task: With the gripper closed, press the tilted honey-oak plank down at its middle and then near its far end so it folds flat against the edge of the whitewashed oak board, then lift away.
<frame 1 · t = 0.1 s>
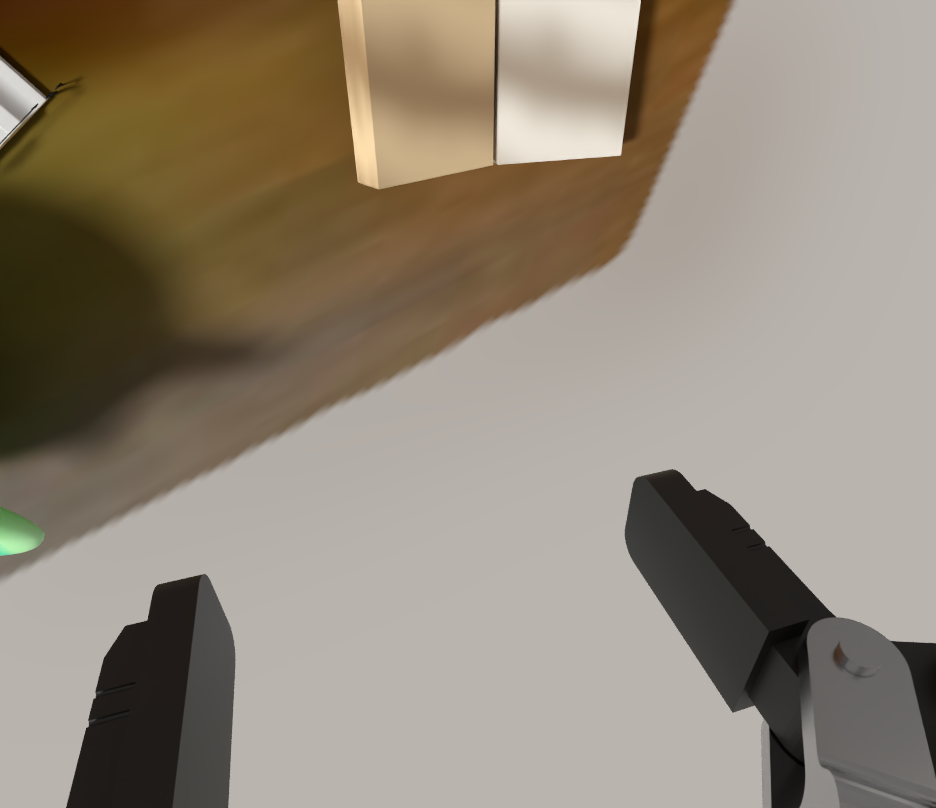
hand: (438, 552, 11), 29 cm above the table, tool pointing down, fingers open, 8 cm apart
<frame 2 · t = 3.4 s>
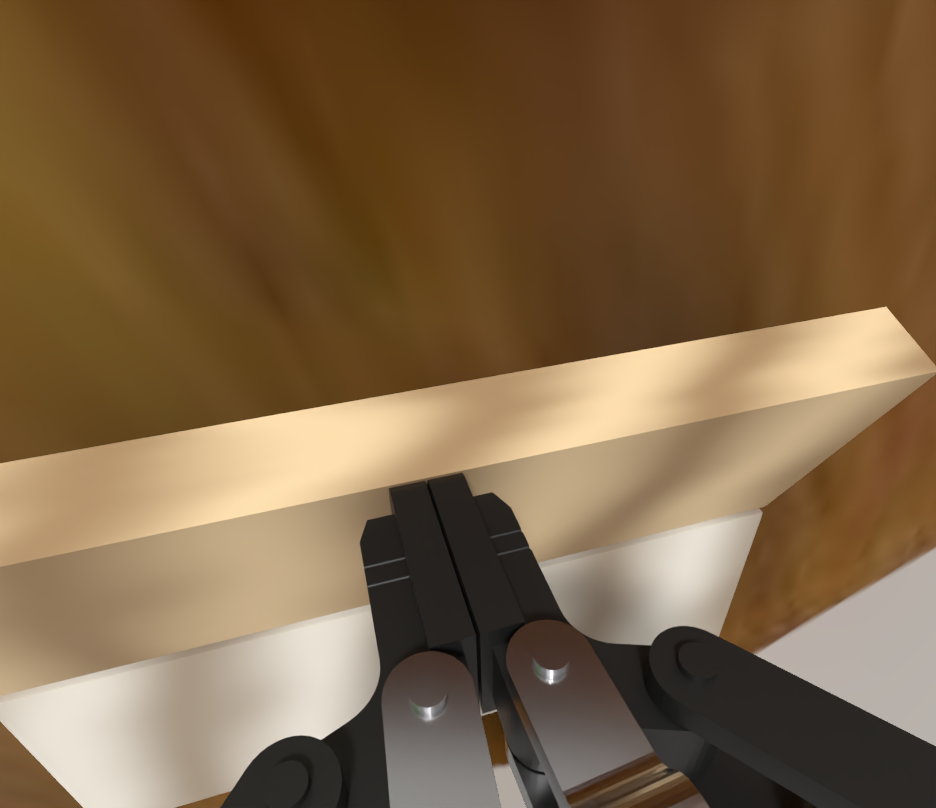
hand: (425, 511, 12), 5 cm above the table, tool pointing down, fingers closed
whitewashed oak board: (423, 621, 22), on the table
honey oak plank: (419, 509, 15), point 3 cm above the table, hinge at 23.4°, touching gripper
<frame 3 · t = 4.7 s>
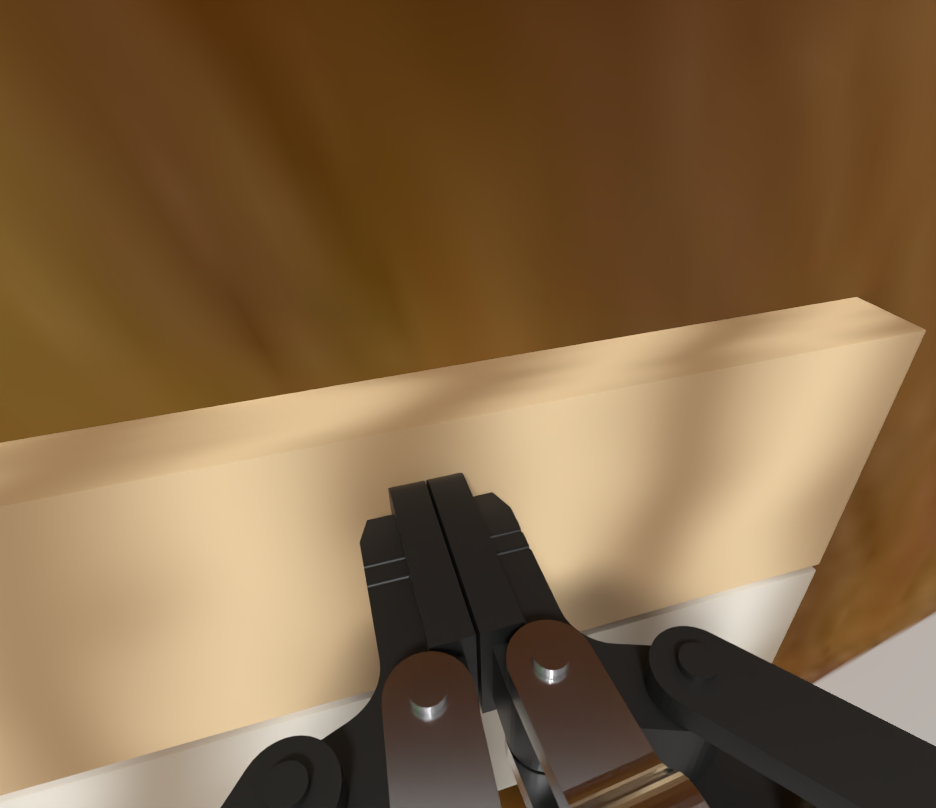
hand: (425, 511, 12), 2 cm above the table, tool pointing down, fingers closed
whitewashed oak board: (432, 689, 19), on the table
honey oak plank: (419, 538, 14), point 1 cm above the table, hinge at -0.6°
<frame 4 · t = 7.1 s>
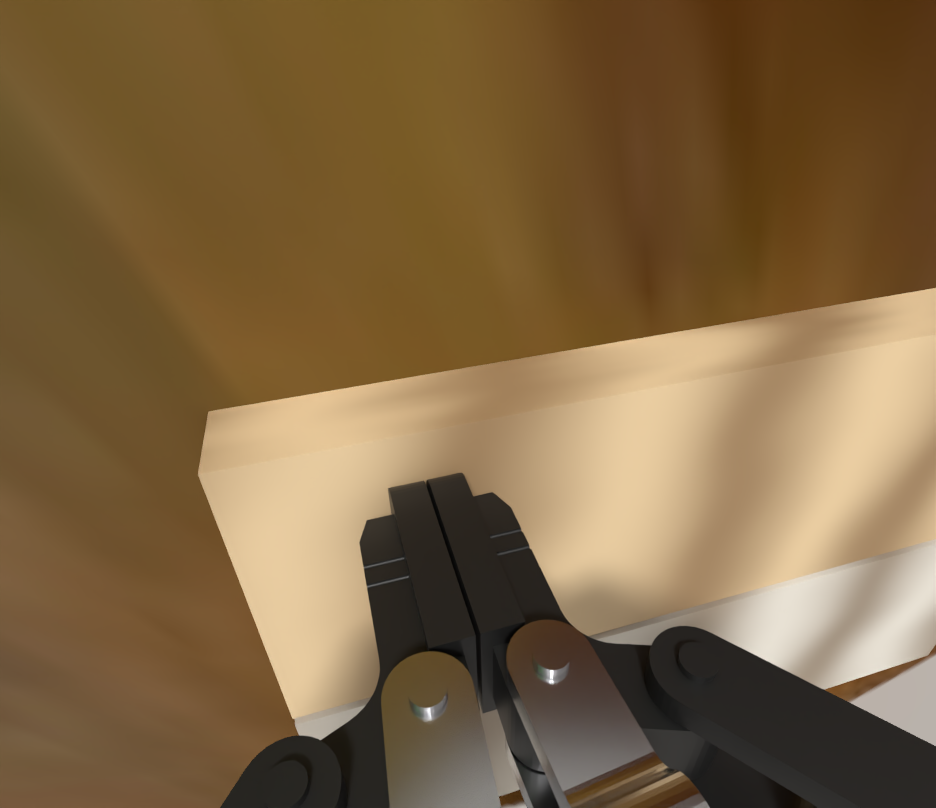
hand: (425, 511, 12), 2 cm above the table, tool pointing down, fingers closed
whitewashed oak board: (656, 630, 21), on the table
honey oak plank: (724, 474, 15), point 1 cm above the table, hinge at -0.6°
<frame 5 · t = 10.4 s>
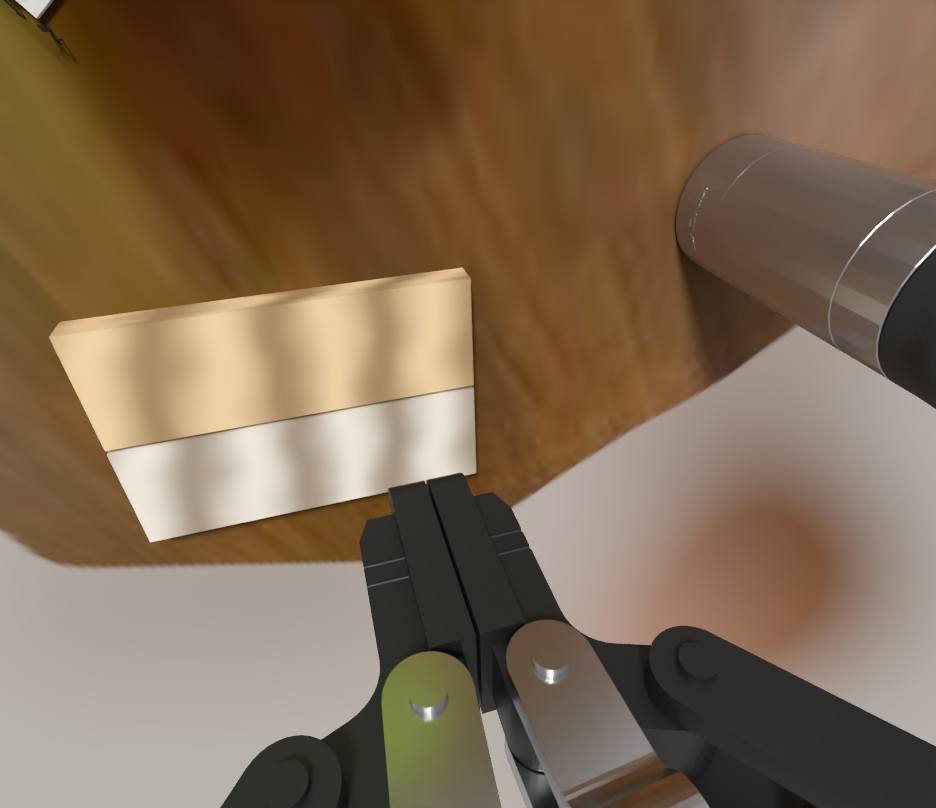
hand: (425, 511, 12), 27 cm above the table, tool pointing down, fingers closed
whitewashed oak board: (311, 448, 43), on the table
honey oak plank: (288, 356, 37), point 1 cm above the table, hinge at -0.6°
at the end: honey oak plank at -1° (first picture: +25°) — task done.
